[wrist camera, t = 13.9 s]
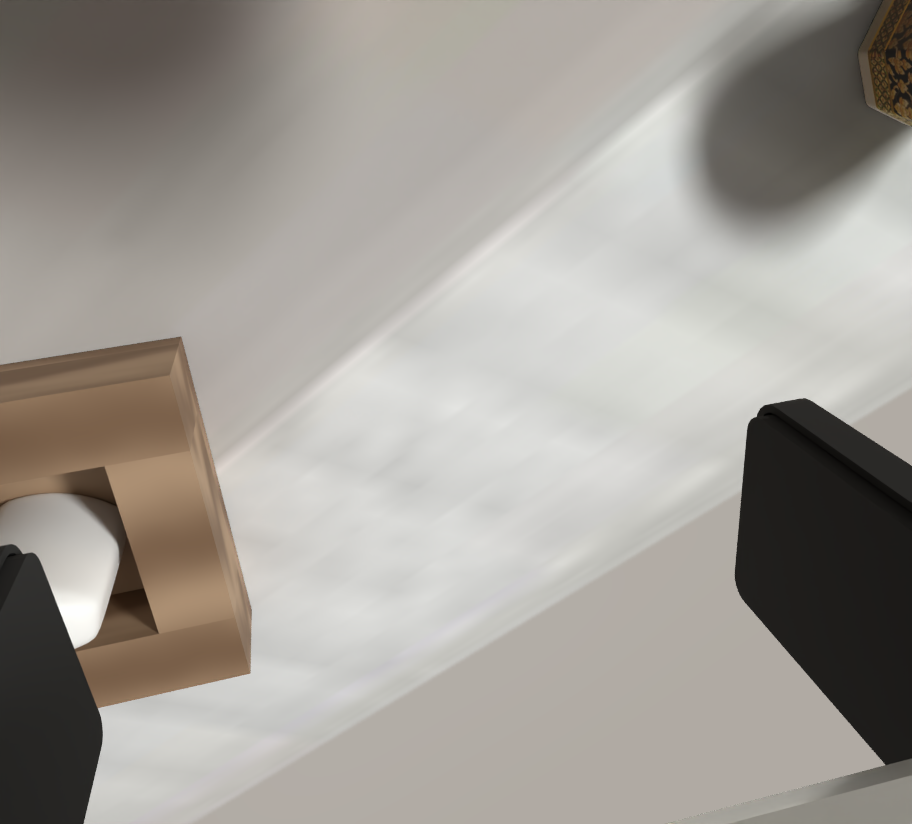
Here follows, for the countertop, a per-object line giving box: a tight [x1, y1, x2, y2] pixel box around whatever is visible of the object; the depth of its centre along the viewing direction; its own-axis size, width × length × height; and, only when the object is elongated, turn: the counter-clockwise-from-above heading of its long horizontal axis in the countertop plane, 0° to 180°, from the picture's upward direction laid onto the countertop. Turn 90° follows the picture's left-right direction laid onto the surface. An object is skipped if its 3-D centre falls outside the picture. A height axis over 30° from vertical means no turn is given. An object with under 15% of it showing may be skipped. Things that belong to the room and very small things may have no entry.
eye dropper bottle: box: [0, 493, 126, 649], centre depth 32 cm, size 4×6×12 cm
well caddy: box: [0, 337, 252, 708], centre depth 36 cm, size 16×14×5 cm
